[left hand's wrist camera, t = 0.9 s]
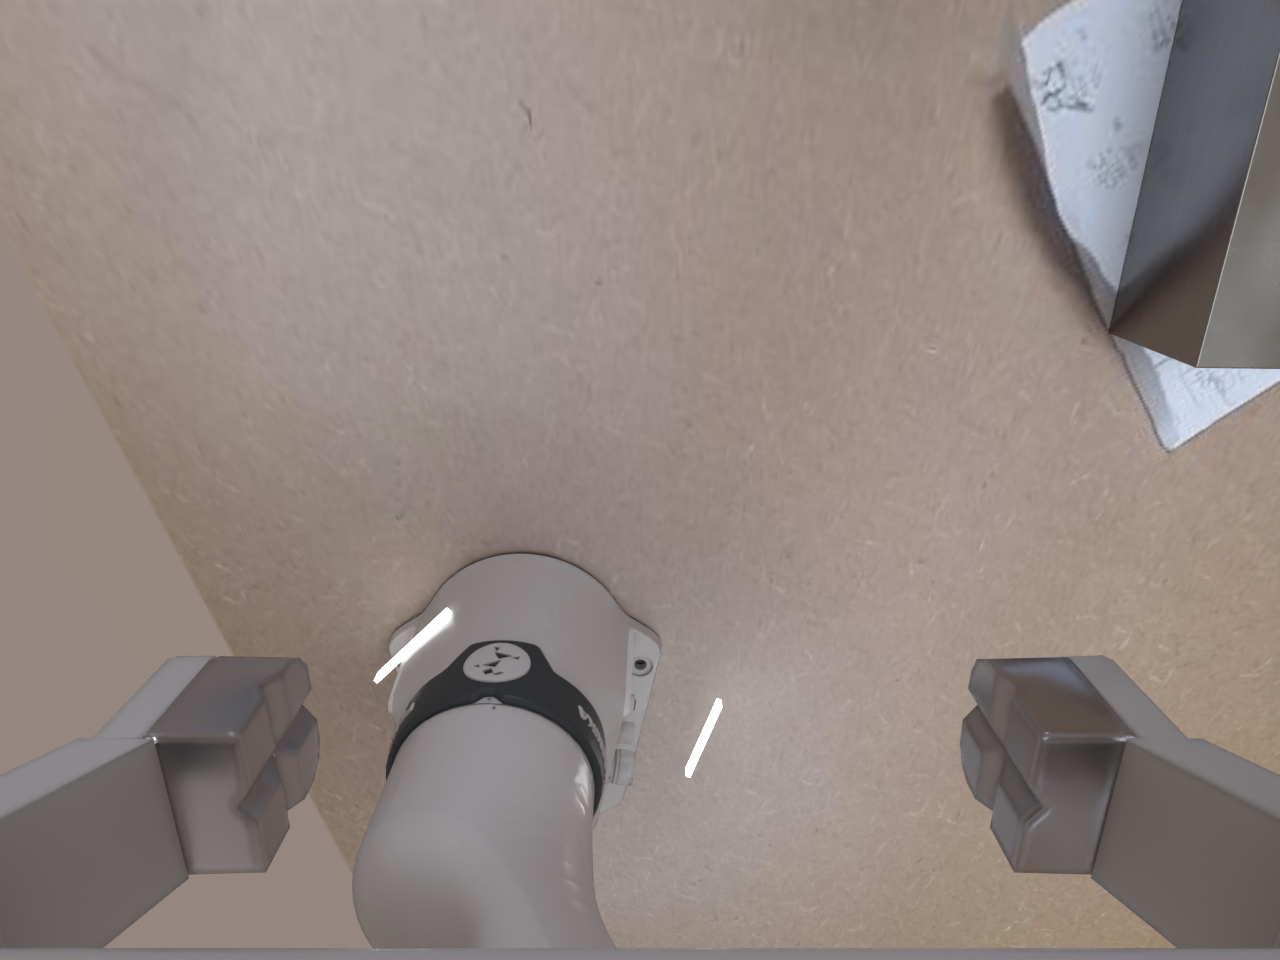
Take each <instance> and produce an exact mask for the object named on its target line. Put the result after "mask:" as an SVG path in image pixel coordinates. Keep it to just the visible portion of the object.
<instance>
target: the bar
mask: <svg viewBox="0 0 1280 960" xmlns="http://www.w3.org/2000/svg"><path fill="white" fill-rule="evenodd" d="M1109 333H1110V334H1113V335H1115V336H1118V337H1120V338H1123V339H1125V340H1128V341H1130V342H1133V343H1135V344H1138V345H1140V346H1143V347H1145V348H1148V349H1150V350H1153V351H1155V352H1158V353H1160V354H1163V355H1165V356H1168V357H1170V358H1173V359H1176V360H1178V361H1181V362H1183V363H1186V364H1188V365H1191V366H1193V367H1196V368H1258V369H1280V0H1183V3H1182V7H1181V12H1180V16H1179V21H1178V25H1177V30H1176V34H1175V39H1174V43H1173V48H1172V52H1171V57H1170V61H1169V66H1168V70H1167V75H1166V79H1165V84H1164V88H1163V93H1162V97H1161V102H1160V106H1159V111H1158V115H1157V120H1156V124H1155V129H1154V133H1153V138H1152V142H1151V147H1150V151H1149V156H1148V160H1147V165H1146V169H1145V174H1144V178H1143V183H1142V187H1141V192H1140V196H1139V201H1138V205H1137V210H1136V214H1135V219H1134V223H1133V228H1132V232H1131V237H1130V241H1129V246H1128V250H1127V255H1126V260H1125V264H1124V269H1123V273H1122V278H1121V282H1120V287H1119V291H1118V296H1117V300H1116V305H1115V309H1114V314H1113V318H1112V323H1111V327H1110V332H1109Z"/></svg>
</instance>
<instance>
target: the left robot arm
mask: <svg viewBox="0 0 1280 960" xmlns="http://www.w3.org/2000/svg"><path fill="white" fill-rule="evenodd" d="M389 652H390V655H391V658H392V659H391V660H390V661H389V662H388V663H387V664H386V665H385V666H384V667H383V668H382V669H381V670H379V671H378V673H377V675H376V677H375V679H374V681H375V682H376V683H378V682H379V681H380V680H381V679H383V678H384V677H385V676H386V675H387V674H388V673H389V672H390V671H391V670H392V669H393V668H394V667H395V670H396V672H397V676H396V679H395V682H394V685H393V688H392V691H391V694H390V697H389V701H388V711H389V712H390V713H392V714H393V717H394V721H395V724H396V727H397V728H396V730H395V733H394V736H393V738H392V743H391V745H390V751H389V752H390V753H389V756H388V761H387V766H386V783H385V786H384V788H383V791H382V793H381V796H380V798H379V801H378V803H377V806H376V808H375V811H374V813H373V816H372V818H371V821H370V823H369V826H368V828H367V831H366V833H365V835H364V838H363V840H362V843H361V845H360V848H359V851H358V854H357V856H356V860H355V865H354V871H353V881H352V890H353V901H354V907H355V911H356V916H357V919H358V921H359V924H360V926H361V929H362V931H363V933H364V935H365V937H366V938H367V940H368V942H369V943H370V945H371V946H372V948H103V947H105V946H106V945H107V944H108V943H110V942H111V941H112V940H113V939H115V938H116V937H117V936H118V935H119V934H121V933H122V932H123V931H124V930H126V929H127V928H128V927H129V926H131V925H132V924H133V923H134V922H135V921H137V920H138V919H139V918H140V917H142V916H143V915H144V914H145V913H147V912H148V911H149V910H150V909H152V908H153V907H154V906H155V905H156V904H158V903H159V902H160V901H161V900H163V899H164V898H165V897H166V896H168V895H169V894H170V893H171V892H173V891H174V890H175V889H176V888H177V887H179V886H180V885H181V884H182V883H184V882H185V881H186V880H187V879H188V878H189V877H188V875H189V874H223V873H258V872H266V871H267V869H268V868H269V866H270V864H271V862H272V860H273V858H274V856H275V854H276V852H277V851H278V849H279V847H280V845H281V843H282V841H283V839H284V837H285V836H286V834H287V832H288V830H289V828H290V825H289V819H288V813H287V811H288V810H289V809H291V808H292V807H294V806H295V805H296V804H298V803H299V802H301V801H302V800H304V799H305V797H306V795H307V793H308V791H309V789H310V787H311V785H312V783H313V781H314V778H315V774H316V769H317V765H318V760H319V748H320V736H319V729H318V723H317V719H316V718H315V717H314V716H313V715H312V714H311V713H310V712H309V711H308V710H307V709H306V708H305V707H304V706H303V705H302V704H303V702H304V701H305V699H306V697H307V696H308V694H309V692H310V691H311V689H312V687H311V682H310V677H309V672H308V668H307V665H306V664H305V663H304V662H303V661H302V660H301V659H300V658H281V657H232V656H220V657H216V656H178V657H174V658H170V659H168V660H167V661H166V662H165V663H164V664H163V665H162V666H161V667H160V668H159V669H158V670H157V671H156V672H155V673H154V674H153V675H152V676H151V677H150V678H149V679H148V681H147V682H146V683H145V684H144V685H143V686H142V687H141V688H140V689H139V690H138V691H137V692H136V693H135V694H134V695H133V696H132V697H131V698H130V699H129V700H128V701H127V702H126V703H125V705H124V706H123V707H122V708H121V709H120V710H119V711H118V712H117V713H116V714H115V715H114V716H113V717H112V718H111V719H110V720H109V721H108V722H107V723H106V724H105V726H103V728H102V729H101V730H100V731H99V732H98V733H97V734H96V735H95V736H94V737H93V738H90V739H76V740H74V741H72V742H70V743H68V744H65V745H63V746H61V747H59V748H57V749H55V750H53V751H51V752H49V753H46V754H44V755H42V756H40V757H38V758H36V759H34V760H31V761H29V762H27V763H25V764H23V765H21V766H19V767H17V768H14V769H12V770H10V771H8V772H6V773H4V774H2V775H0V960H1280V775H1278V774H1276V773H1274V772H1272V771H1270V770H1268V769H1266V768H1263V767H1261V766H1259V765H1257V764H1255V763H1253V762H1251V761H1249V760H1246V759H1244V758H1242V757H1240V756H1238V755H1236V754H1234V753H1232V752H1229V751H1227V750H1225V749H1223V748H1221V747H1219V746H1217V745H1215V744H1212V743H1210V742H1208V741H1206V740H1204V739H1191V738H1187V737H1186V736H1185V735H1184V734H1183V733H1182V732H1181V731H1180V729H1179V728H1178V727H1177V726H1176V725H1175V724H1174V723H1173V722H1172V721H1171V720H1170V719H1169V718H1168V717H1167V716H1166V715H1165V714H1164V713H1163V712H1162V711H1161V710H1160V709H1159V708H1158V706H1157V705H1156V704H1155V703H1154V702H1153V701H1152V700H1151V699H1150V698H1149V697H1148V696H1147V695H1146V694H1145V693H1144V692H1143V691H1142V690H1141V689H1140V688H1139V687H1138V686H1137V685H1136V683H1135V682H1134V681H1133V680H1132V679H1131V678H1130V677H1129V676H1128V675H1127V674H1126V673H1125V672H1124V671H1123V670H1122V669H1121V668H1120V667H1119V666H1118V665H1117V664H1116V663H1115V662H1114V660H1112V659H1109V658H1107V657H1105V656H1102V655H1100V656H1072V657H1054V658H1010V659H977V660H976V662H975V664H974V666H973V668H972V671H971V676H970V681H969V687H968V689H969V691H970V692H971V694H972V696H973V697H974V699H975V701H976V702H977V704H978V705H977V706H976V707H975V708H974V709H973V710H972V711H971V712H970V713H969V714H968V715H967V716H966V717H965V718H964V719H963V723H962V731H961V739H960V749H961V759H962V767H963V771H964V774H965V777H966V781H967V784H968V786H969V788H970V790H971V791H972V793H973V795H974V797H975V799H976V800H978V801H979V802H981V803H982V804H984V805H985V806H987V807H988V808H989V809H991V810H992V811H993V813H992V819H991V825H990V828H991V830H992V832H993V834H994V836H995V837H996V839H997V841H998V843H999V845H1000V847H1001V849H1002V850H1003V852H1004V854H1005V856H1006V858H1007V860H1008V862H1009V864H1010V865H1011V867H1012V869H1013V871H1014V872H1019V873H1055V874H1091V875H1092V877H1091V878H1092V879H1093V880H1094V881H1095V882H1097V883H1098V884H1099V885H1100V886H1102V887H1103V888H1104V889H1105V890H1107V891H1108V892H1109V893H1110V894H1111V895H1113V896H1114V897H1115V898H1116V899H1118V900H1119V901H1120V902H1121V903H1123V904H1124V905H1125V906H1126V907H1127V908H1129V909H1130V910H1131V911H1132V912H1134V913H1135V914H1136V915H1137V916H1139V917H1140V918H1141V919H1142V920H1144V921H1145V922H1146V923H1147V924H1148V925H1150V926H1151V927H1152V928H1153V929H1155V930H1156V931H1157V932H1158V933H1160V934H1161V935H1162V936H1163V937H1164V938H1166V939H1167V940H1168V941H1169V942H1171V943H1172V944H1173V945H1174V946H1176V947H1177V948H617V947H616V946H615V944H614V943H613V941H612V939H611V937H610V935H609V933H608V931H607V929H606V927H605V925H604V922H603V920H602V918H601V915H600V912H599V909H598V906H597V902H596V897H595V889H594V877H593V849H592V834H593V829H594V828H595V827H596V824H597V821H598V817H599V814H601V813H603V812H606V811H608V810H610V809H612V808H614V807H616V806H618V805H619V804H620V803H621V802H622V800H623V797H624V794H625V790H626V786H628V785H631V784H632V780H633V774H634V767H635V751H636V747H637V743H638V739H639V735H640V732H641V728H642V724H643V720H644V716H645V712H646V708H647V704H648V700H649V696H650V692H651V689H652V685H653V681H654V677H655V673H656V669H657V665H658V661H659V657H660V652H661V641H660V638H659V637H658V636H657V635H656V634H655V633H654V632H653V631H652V630H650V629H649V628H647V627H646V626H644V625H643V624H641V623H639V622H637V621H636V620H634V619H632V618H630V617H629V616H628V615H627V614H626V613H625V612H624V611H623V610H622V609H621V608H620V606H619V605H618V604H617V602H616V601H615V600H614V598H613V597H612V596H611V594H610V593H609V592H608V591H607V590H606V589H605V588H604V587H603V586H602V585H601V584H600V583H599V582H598V581H597V580H595V579H594V578H593V577H592V576H590V575H589V574H587V573H586V572H584V571H583V570H581V569H579V568H577V567H575V566H573V565H571V564H569V563H566V562H564V561H561V560H558V559H555V558H551V557H547V556H542V555H535V554H506V555H499V556H495V557H490V558H487V559H484V560H481V561H478V562H476V563H474V564H472V565H469V566H468V567H466V568H464V569H462V570H461V571H459V572H458V573H456V574H455V575H454V576H453V577H451V578H450V579H449V580H448V581H447V582H446V583H445V584H444V585H443V586H442V587H441V588H440V590H439V591H438V592H437V594H436V595H435V597H434V598H433V600H432V601H431V603H430V604H429V606H428V607H427V608H426V610H425V611H424V612H423V613H422V614H421V615H419V616H418V617H416V618H414V619H412V620H411V621H409V622H407V623H406V624H404V625H403V626H401V627H400V628H398V629H397V630H396V631H395V632H394V634H393V635H392V638H391V641H390V644H389ZM637 660H644V661H645V663H643V664H637V663H636V661H637ZM721 709H722V701H721V699H716V702H715V704H714V706H713V708H712V711H711V713H710V715H709V717H708V719H707V722H706V724H705V726H704V728H703V731H702V733H701V735H700V737H699V739H698V742H697V744H696V746H695V748H694V751H693V753H692V755H691V757H690V759H689V762H688V764H687V766H686V768H685V770H686V777H691V775H692V772H693V770H694V768H695V766H696V764H697V761H698V759H699V757H700V755H701V753H702V750H703V748H704V746H705V744H706V742H707V739H708V737H709V735H710V733H711V731H712V729H713V726H714V724H715V722H716V720H717V718H718V715H719V713H720V711H721Z"/></svg>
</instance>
